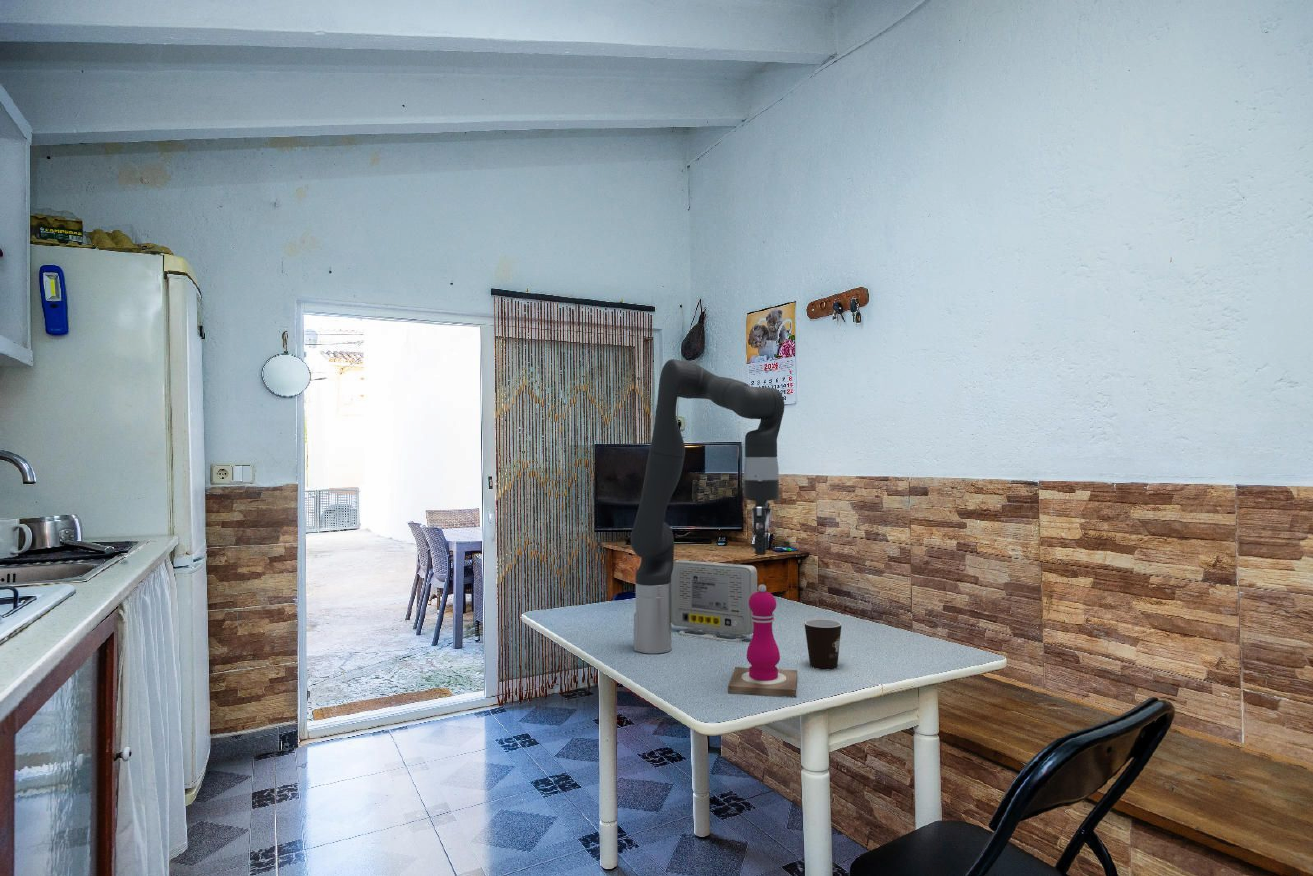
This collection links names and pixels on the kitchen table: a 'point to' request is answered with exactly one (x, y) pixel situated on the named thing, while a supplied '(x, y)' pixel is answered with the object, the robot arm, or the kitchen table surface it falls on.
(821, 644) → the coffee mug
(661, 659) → the kitchen table surface
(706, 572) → the network device
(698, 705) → the kitchen table surface
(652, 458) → the robot arm
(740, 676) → the walnut board
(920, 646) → the kitchen table surface
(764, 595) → the pepper mill
